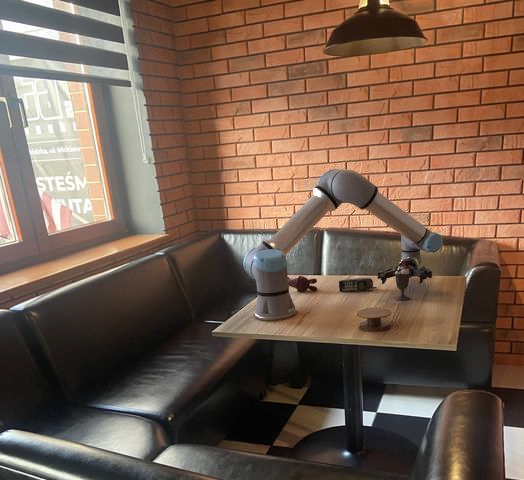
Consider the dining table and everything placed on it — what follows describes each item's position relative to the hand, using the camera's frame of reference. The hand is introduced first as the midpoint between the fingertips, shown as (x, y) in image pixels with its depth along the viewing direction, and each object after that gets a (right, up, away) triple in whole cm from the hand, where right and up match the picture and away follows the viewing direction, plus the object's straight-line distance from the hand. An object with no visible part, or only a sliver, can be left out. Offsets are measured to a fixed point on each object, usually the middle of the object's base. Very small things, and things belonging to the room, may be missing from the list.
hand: (401, 280), depth 197 cm
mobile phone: (-12, -1, +23) cm, 26 cm away
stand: (-15, -18, -22) cm, 32 cm away
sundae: (+2, -7, +5) cm, 8 cm away
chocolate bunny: (-35, -1, +31) cm, 47 cm away
